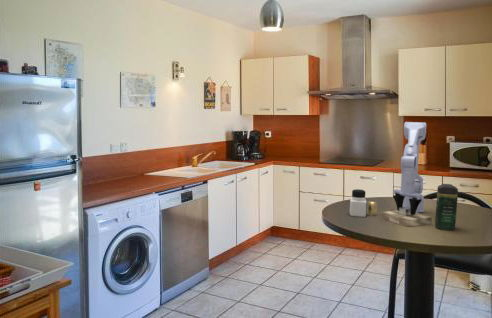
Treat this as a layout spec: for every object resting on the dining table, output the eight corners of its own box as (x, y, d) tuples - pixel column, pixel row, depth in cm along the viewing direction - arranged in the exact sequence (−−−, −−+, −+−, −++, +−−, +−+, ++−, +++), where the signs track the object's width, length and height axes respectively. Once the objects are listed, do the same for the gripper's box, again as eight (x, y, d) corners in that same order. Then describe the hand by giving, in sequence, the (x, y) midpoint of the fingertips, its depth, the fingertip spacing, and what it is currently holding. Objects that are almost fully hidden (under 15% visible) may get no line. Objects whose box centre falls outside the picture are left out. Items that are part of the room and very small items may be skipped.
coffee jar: (456, 231, 181) (459, 186, 179) (435, 229, 184) (438, 185, 182) (453, 225, 190) (456, 183, 188) (434, 224, 193) (436, 182, 191)
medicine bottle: (366, 217, 204) (367, 191, 202) (350, 216, 205) (351, 190, 204) (365, 213, 211) (366, 188, 209) (349, 212, 212) (350, 188, 211)
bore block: (403, 215, 208) (403, 209, 207) (431, 223, 193) (431, 217, 193) (381, 218, 201) (381, 212, 201) (408, 226, 187) (408, 219, 187)
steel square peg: (405, 219, 200) (405, 206, 199) (411, 221, 196) (412, 208, 196) (398, 220, 198) (399, 207, 198) (405, 222, 194) (405, 209, 194)
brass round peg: (372, 213, 212) (372, 201, 211) (378, 215, 208) (378, 202, 208) (365, 214, 210) (366, 201, 210) (371, 215, 207) (372, 203, 206)
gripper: (389, 180, 200) (387, 209, 202) (414, 185, 187) (412, 216, 189) (400, 179, 203) (398, 208, 205) (426, 184, 190) (424, 215, 192)
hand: (406, 212), depth 197 cm, fingers open, 7 cm apart
